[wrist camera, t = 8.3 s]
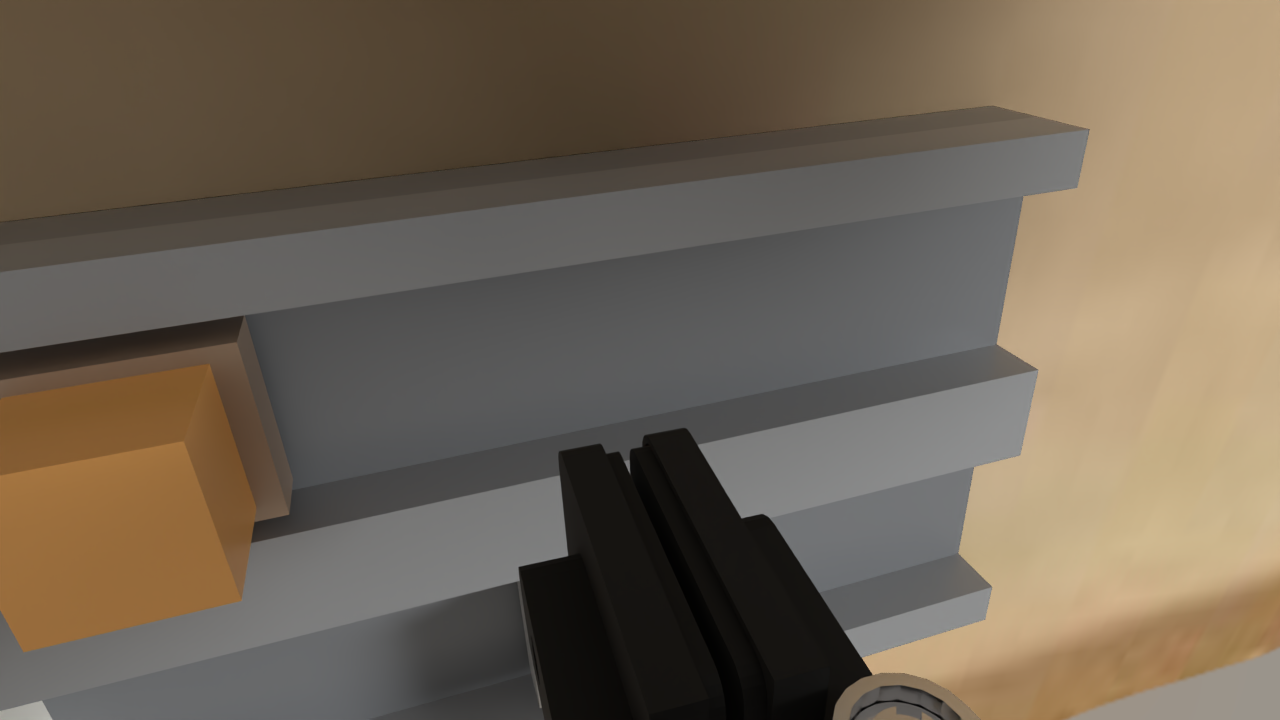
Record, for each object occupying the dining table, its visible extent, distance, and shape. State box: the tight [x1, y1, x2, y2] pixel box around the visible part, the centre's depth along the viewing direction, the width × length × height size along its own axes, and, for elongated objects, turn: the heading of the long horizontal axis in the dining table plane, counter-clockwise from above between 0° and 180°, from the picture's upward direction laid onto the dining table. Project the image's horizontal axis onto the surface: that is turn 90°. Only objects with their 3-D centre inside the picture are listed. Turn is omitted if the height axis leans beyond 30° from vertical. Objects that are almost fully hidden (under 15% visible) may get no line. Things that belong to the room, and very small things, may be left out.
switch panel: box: [0, 106, 1090, 720], centre depth 18 cm, size 30×14×3 cm, turn 93°
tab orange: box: [0, 315, 293, 652], centre depth 13 cm, size 4×4×4 cm
